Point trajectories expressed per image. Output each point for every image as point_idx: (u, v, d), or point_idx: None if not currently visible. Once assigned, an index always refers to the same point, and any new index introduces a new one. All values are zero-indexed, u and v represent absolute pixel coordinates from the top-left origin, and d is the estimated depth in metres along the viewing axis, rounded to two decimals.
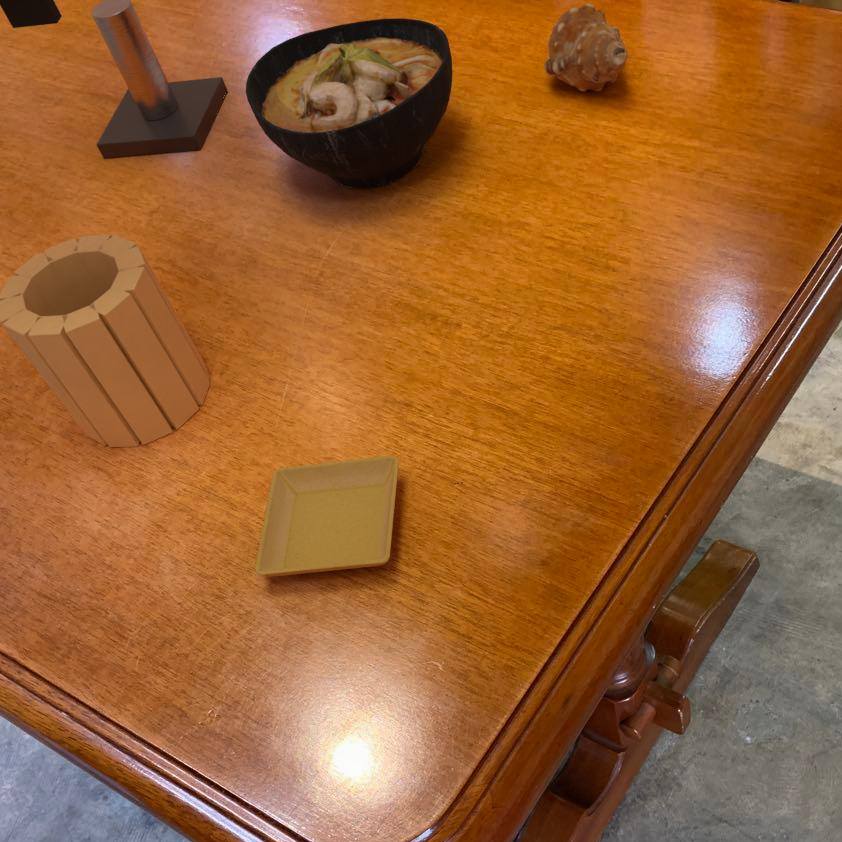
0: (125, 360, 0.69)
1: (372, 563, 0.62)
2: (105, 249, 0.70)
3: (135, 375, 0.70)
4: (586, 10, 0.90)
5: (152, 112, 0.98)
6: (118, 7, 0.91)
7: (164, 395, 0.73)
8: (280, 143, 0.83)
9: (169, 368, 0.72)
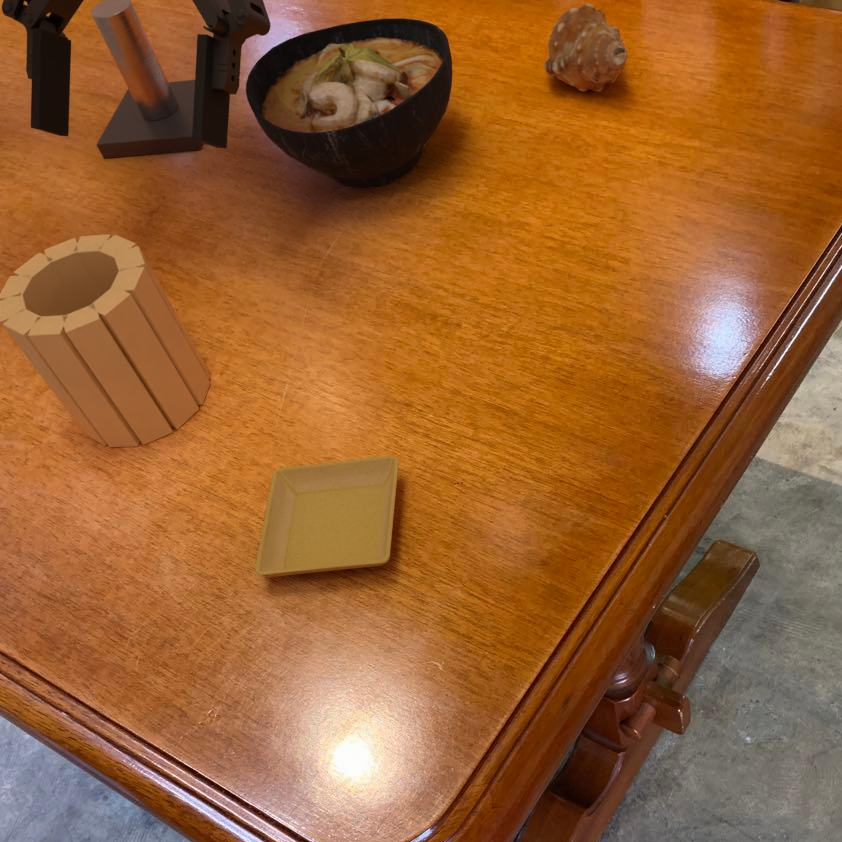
0: (125, 360, 0.69)
1: (372, 563, 0.62)
2: (105, 249, 0.70)
3: (135, 375, 0.70)
4: (586, 10, 0.90)
5: (152, 112, 0.98)
6: (118, 7, 0.91)
7: (164, 395, 0.73)
8: (280, 143, 0.83)
9: (169, 368, 0.72)
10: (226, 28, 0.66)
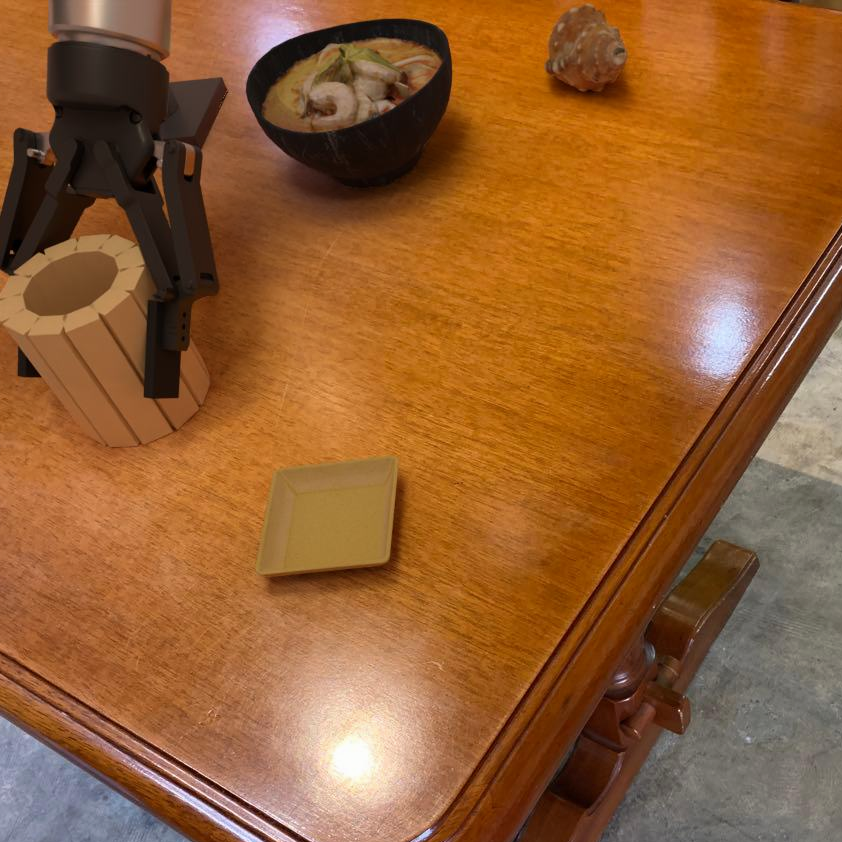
0: (125, 360, 0.69)
1: (372, 563, 0.62)
2: (105, 249, 0.70)
3: (135, 375, 0.70)
4: (586, 10, 0.90)
5: None
6: None
7: None
8: (280, 143, 0.83)
9: None
10: (175, 296, 0.68)
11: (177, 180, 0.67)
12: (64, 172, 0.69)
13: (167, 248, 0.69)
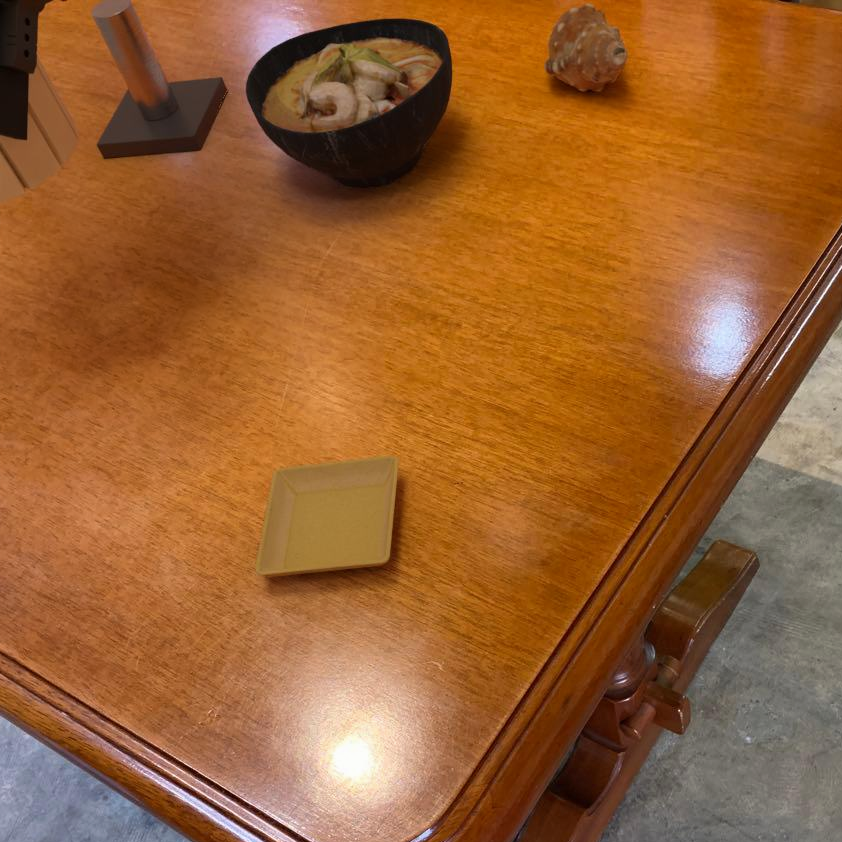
0: None
1: (372, 563, 0.62)
2: None
3: None
4: (586, 10, 0.90)
5: (152, 112, 0.98)
6: (118, 7, 0.91)
7: (10, 138, 0.58)
8: (280, 143, 0.83)
9: None
10: None
11: None
12: None
13: None
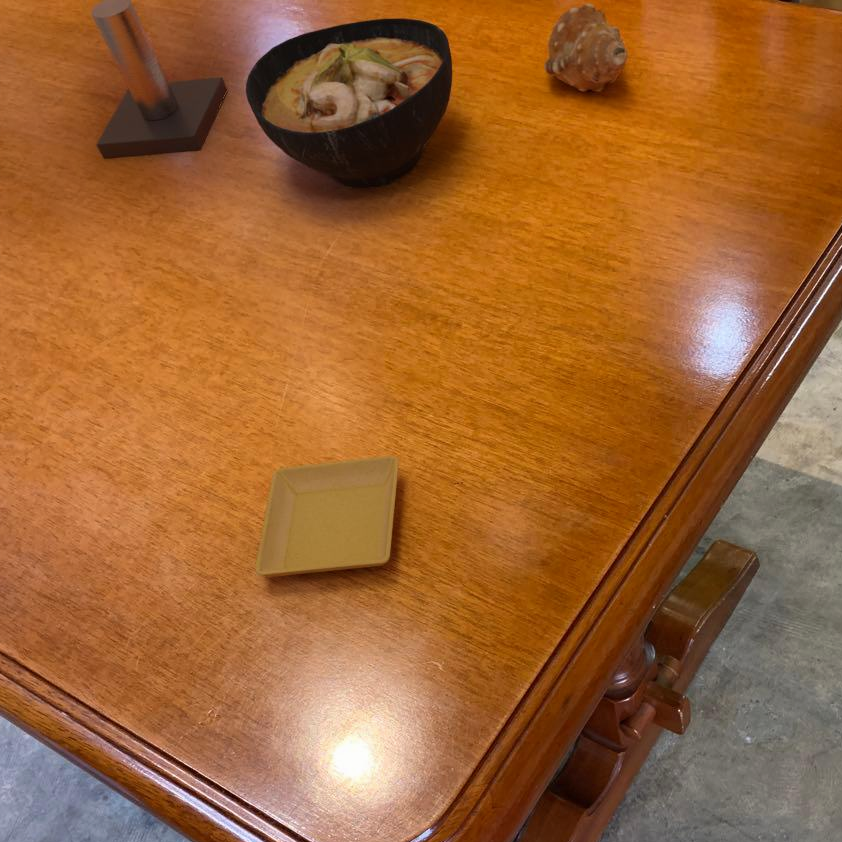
0: None
1: (372, 563, 0.62)
2: None
3: None
4: (586, 10, 0.90)
5: (152, 112, 0.98)
6: (118, 7, 0.91)
7: None
8: (280, 143, 0.83)
9: None
10: None
11: None
12: None
13: None
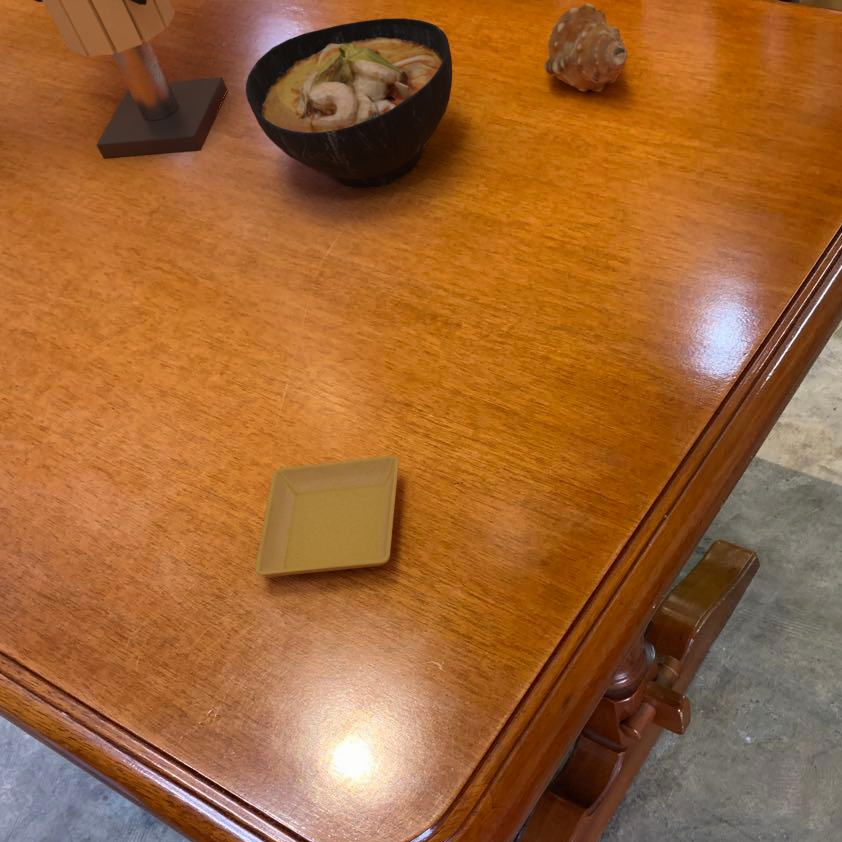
0: None
1: (372, 563, 0.62)
2: None
3: None
4: (586, 10, 0.90)
5: (152, 112, 0.98)
6: None
7: (135, 3, 0.88)
8: (280, 143, 0.83)
9: None
10: None
11: None
12: None
13: None
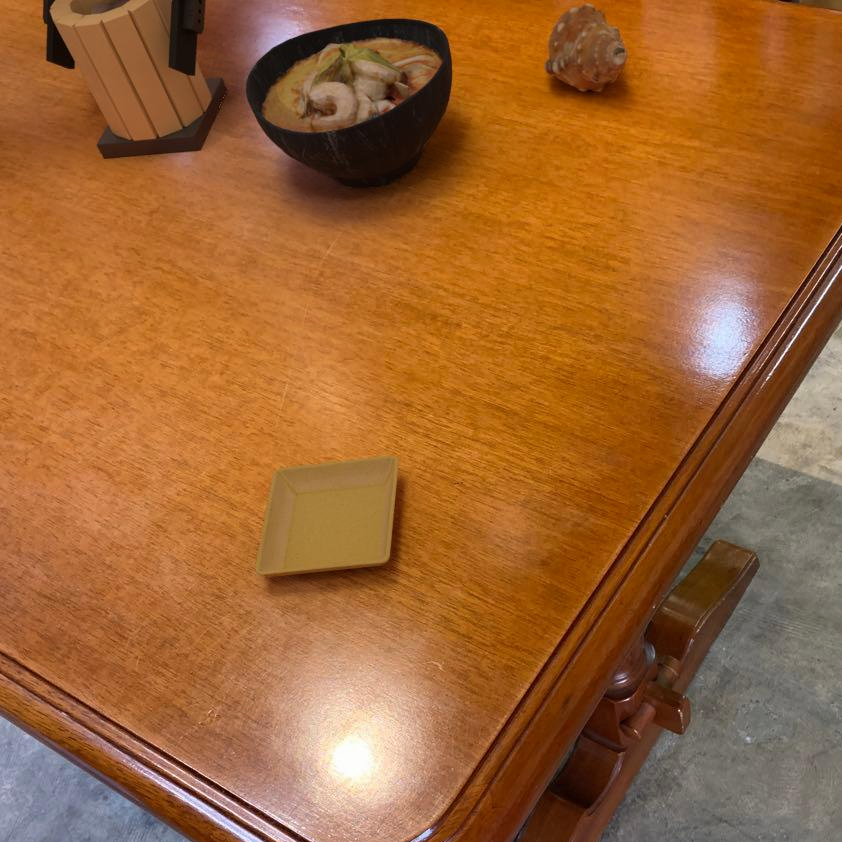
0: (147, 54, 0.91)
1: (372, 563, 0.62)
2: None
3: (154, 70, 0.92)
4: (586, 10, 0.90)
5: None
6: None
7: (176, 93, 0.94)
8: (280, 143, 0.83)
9: None
10: None
11: None
12: None
13: None
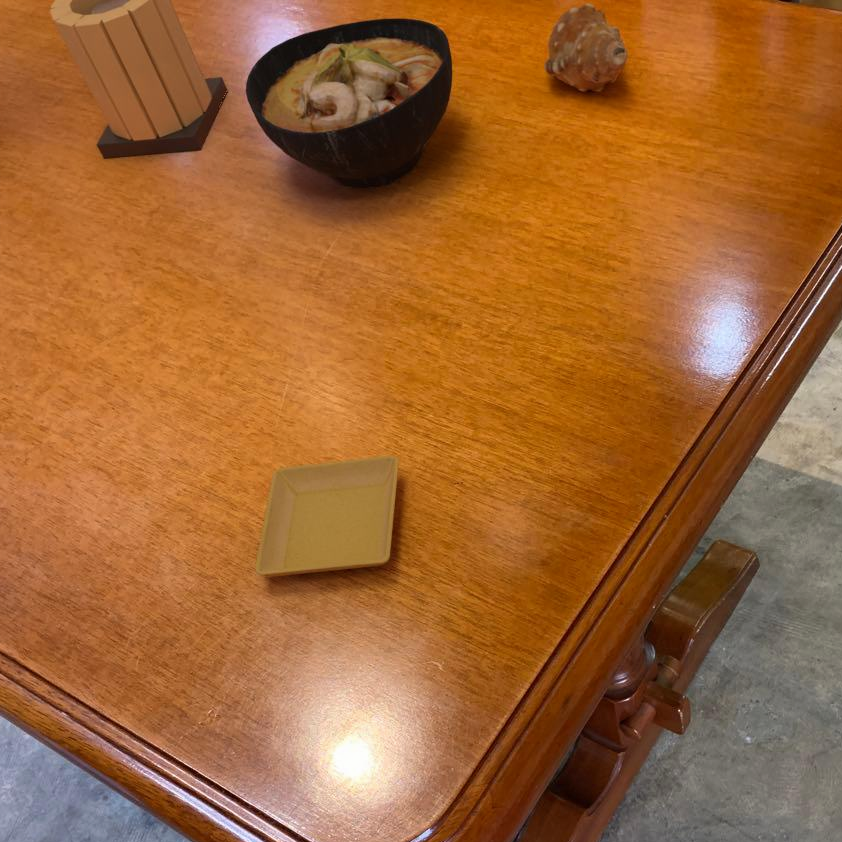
0: (147, 54, 0.91)
1: (372, 563, 0.62)
2: None
3: (154, 70, 0.92)
4: (586, 10, 0.90)
5: None
6: None
7: (176, 93, 0.94)
8: (280, 143, 0.83)
9: (180, 71, 0.94)
10: None
11: None
12: None
13: None
